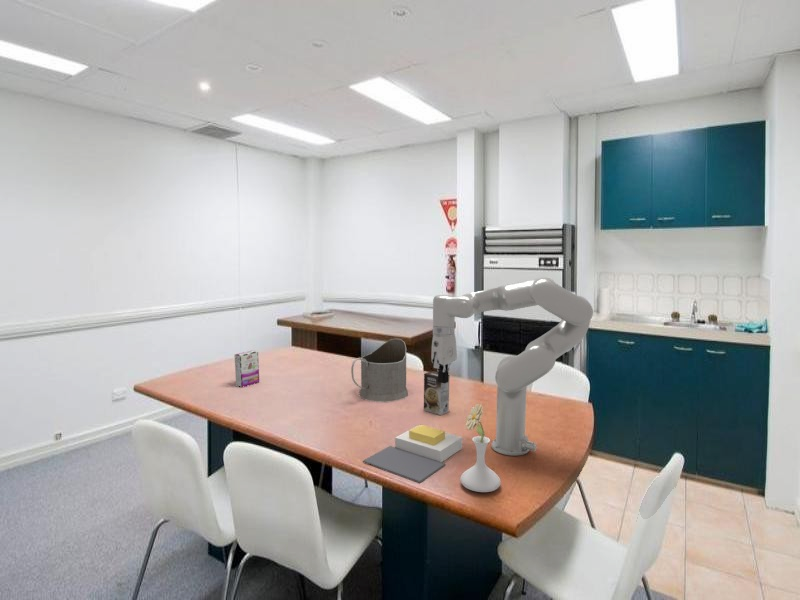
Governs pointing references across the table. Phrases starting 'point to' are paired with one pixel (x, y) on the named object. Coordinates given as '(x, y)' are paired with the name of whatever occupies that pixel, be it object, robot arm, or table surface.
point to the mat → (405, 463)
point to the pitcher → (384, 373)
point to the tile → (427, 434)
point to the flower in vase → (479, 458)
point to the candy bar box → (246, 368)
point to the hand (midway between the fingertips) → (443, 382)
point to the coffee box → (435, 394)
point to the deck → (430, 446)
